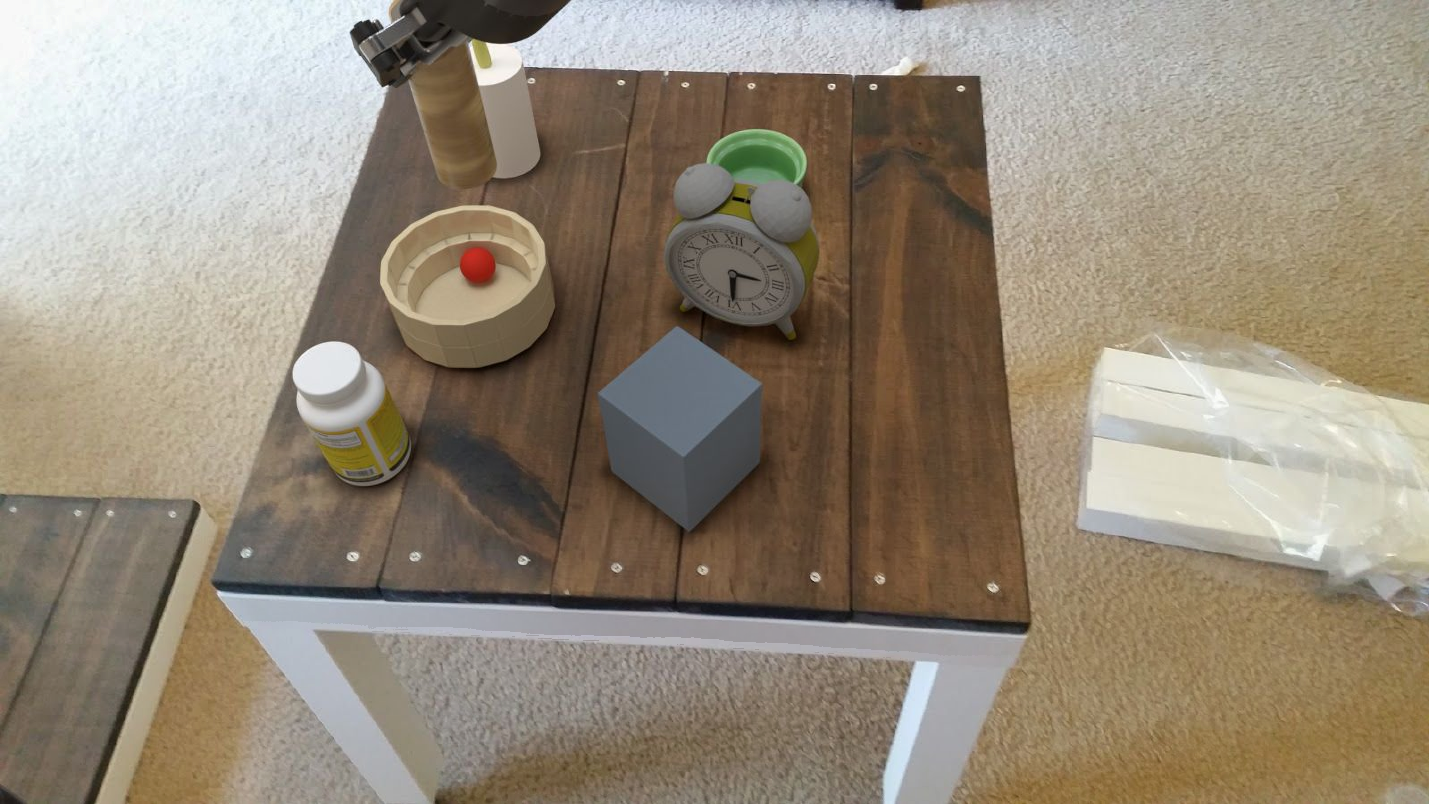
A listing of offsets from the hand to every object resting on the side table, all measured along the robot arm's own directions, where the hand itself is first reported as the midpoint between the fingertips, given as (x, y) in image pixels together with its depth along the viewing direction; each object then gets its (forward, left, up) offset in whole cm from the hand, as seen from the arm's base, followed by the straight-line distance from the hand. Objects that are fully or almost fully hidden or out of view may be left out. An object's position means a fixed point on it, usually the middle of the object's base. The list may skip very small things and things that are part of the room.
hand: (418, 53), depth 64 cm
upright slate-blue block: (+1, -19, -28) cm, 34 cm away
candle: (+16, +18, -29) cm, 37 cm away
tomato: (+4, +7, -26) cm, 28 cm away
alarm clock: (+16, -12, -29) cm, 35 cm away
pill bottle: (-14, 0, -29) cm, 32 cm away
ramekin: (+27, -4, -29) cm, 40 cm away
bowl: (+1, +5, -28) cm, 29 cm away
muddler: (0, -2, -8) cm, 8 cm away
